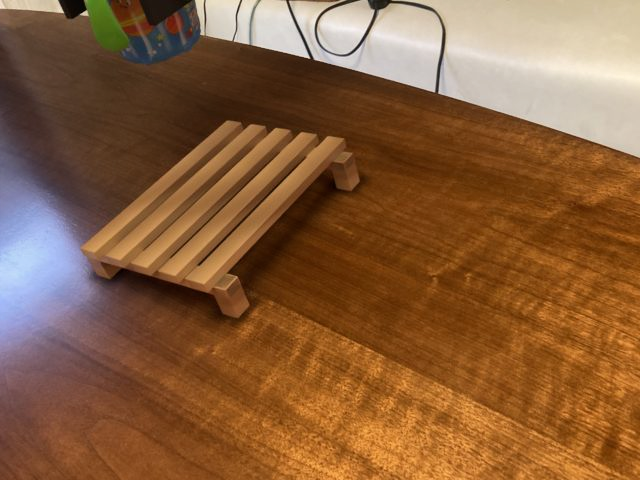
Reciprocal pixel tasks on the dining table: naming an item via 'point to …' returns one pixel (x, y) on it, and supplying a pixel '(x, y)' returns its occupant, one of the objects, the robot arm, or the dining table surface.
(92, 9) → the snack cup
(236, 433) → the dining table surface
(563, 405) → the dining table surface
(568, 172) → the dining table surface
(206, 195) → the rack
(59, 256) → the dining table surface
